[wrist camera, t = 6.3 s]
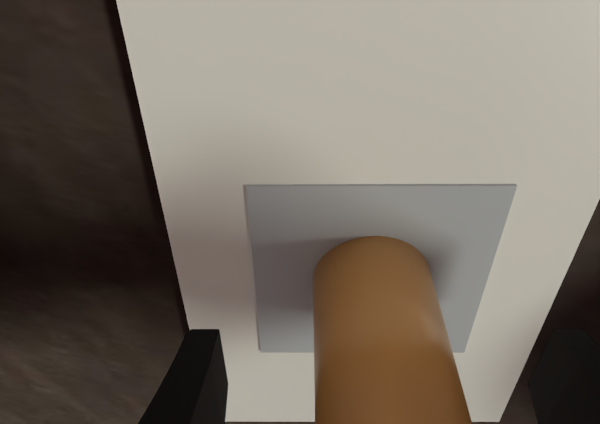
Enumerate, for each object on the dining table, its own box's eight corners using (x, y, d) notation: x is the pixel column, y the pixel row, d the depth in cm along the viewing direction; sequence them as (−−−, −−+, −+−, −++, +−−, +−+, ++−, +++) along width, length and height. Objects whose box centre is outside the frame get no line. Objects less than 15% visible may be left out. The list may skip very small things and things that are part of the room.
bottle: (421, 321, 14) (498, 651, 8) (307, 319, 14) (308, 648, 8) (445, 234, 12) (565, 591, 6) (311, 231, 12) (316, 586, 6)
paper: (496, 413, 18) (499, 424, 17) (211, 413, 18) (209, 423, 17) (682, -12, 9) (694, -6, 9) (120, -8, 9) (113, -3, 9)
